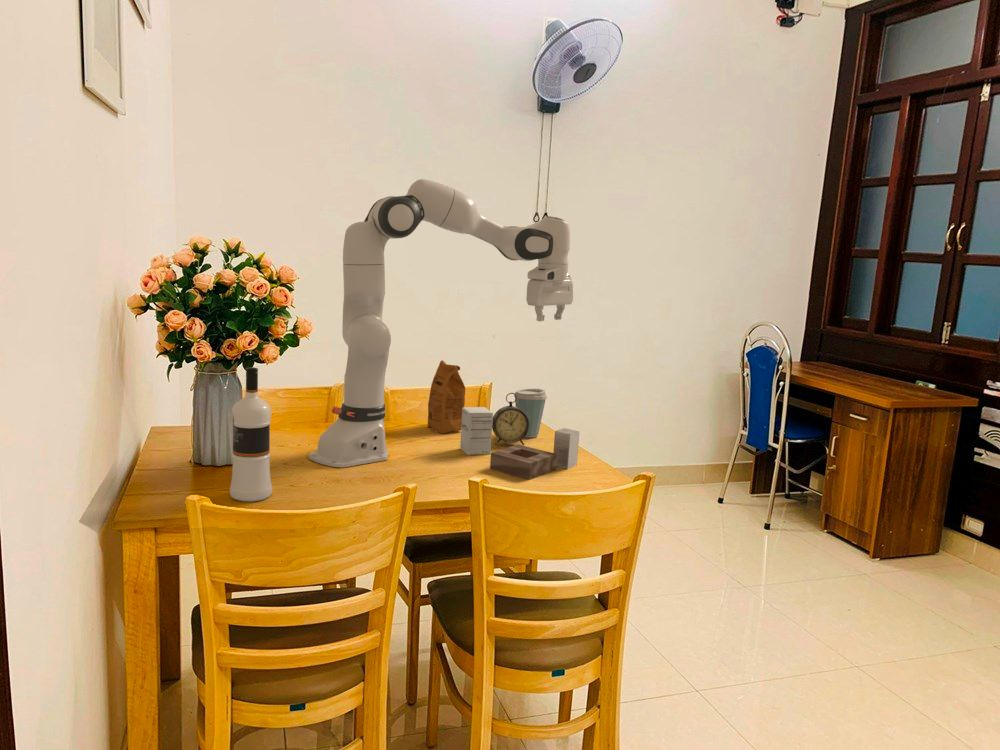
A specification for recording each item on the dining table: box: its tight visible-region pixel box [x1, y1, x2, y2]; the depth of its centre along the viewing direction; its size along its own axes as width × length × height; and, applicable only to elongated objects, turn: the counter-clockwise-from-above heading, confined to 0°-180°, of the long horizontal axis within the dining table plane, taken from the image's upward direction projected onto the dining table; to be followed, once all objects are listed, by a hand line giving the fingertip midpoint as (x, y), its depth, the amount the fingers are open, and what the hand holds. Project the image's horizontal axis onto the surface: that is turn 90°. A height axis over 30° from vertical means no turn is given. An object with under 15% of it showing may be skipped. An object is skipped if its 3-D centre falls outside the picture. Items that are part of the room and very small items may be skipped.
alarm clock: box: [492, 392, 529, 446], centre depth 232 cm, size 11×5×16 cm, turn 102°
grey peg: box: [552, 427, 581, 470], centre depth 213 cm, size 5×5×10 cm
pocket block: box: [489, 443, 557, 481], centre depth 208 cm, size 13×13×4 cm
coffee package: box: [427, 359, 466, 434], centre depth 245 cm, size 10×12×22 cm
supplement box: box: [459, 406, 494, 456], centre depth 222 cm, size 7×7×13 cm
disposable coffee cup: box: [513, 388, 548, 439], centre depth 244 cm, size 11×11×15 cm
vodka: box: [229, 366, 273, 503], centre depth 172 cm, size 9×9×30 cm
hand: (549, 320), depth 225 cm, fingers open, 8 cm apart
